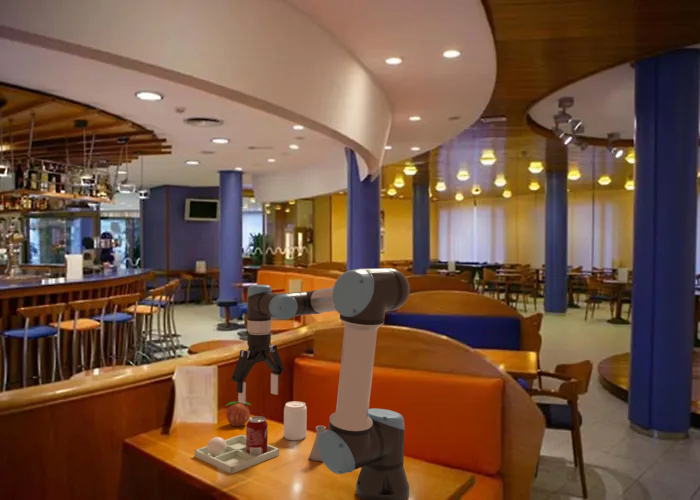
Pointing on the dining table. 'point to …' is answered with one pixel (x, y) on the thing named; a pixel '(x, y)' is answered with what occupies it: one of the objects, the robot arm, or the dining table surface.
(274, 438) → the dining table surface
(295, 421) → the beverage can
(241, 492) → the dining table surface
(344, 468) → the robot arm
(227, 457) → the caddy
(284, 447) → the dining table surface
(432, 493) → the dining table surface
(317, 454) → the flask
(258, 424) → the soda can
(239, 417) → the fruit
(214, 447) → the ceramic egg
